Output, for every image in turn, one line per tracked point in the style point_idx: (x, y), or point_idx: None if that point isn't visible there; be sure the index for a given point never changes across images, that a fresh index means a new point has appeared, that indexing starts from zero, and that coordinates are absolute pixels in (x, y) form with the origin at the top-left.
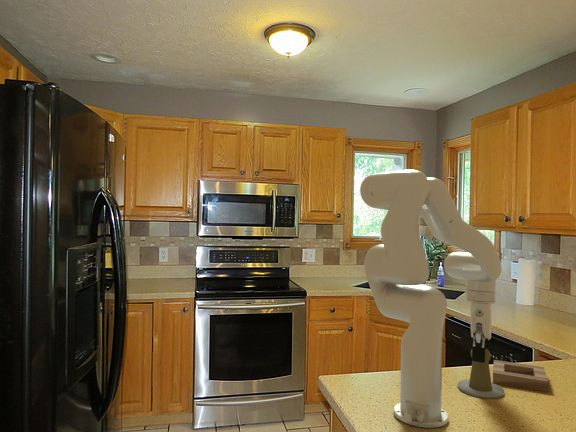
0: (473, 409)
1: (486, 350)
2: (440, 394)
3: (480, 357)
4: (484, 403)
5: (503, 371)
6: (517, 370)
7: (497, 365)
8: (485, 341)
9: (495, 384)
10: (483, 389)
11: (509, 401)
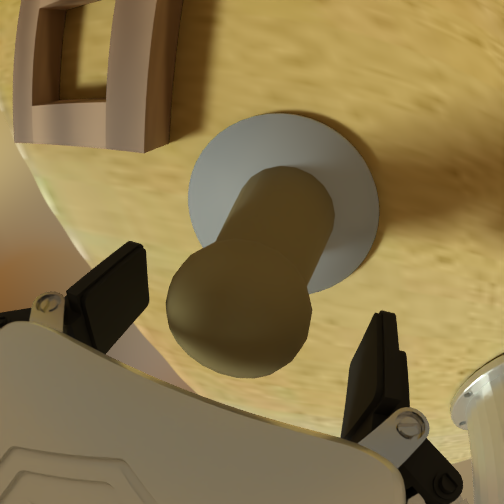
0: (483, 275)
1: (248, 311)
2: None
3: (401, 362)
4: (431, 225)
5: (108, 105)
6: (46, 58)
7: (53, 129)
8: (87, 300)
9: (214, 140)
10: (333, 215)
11: (384, 112)
